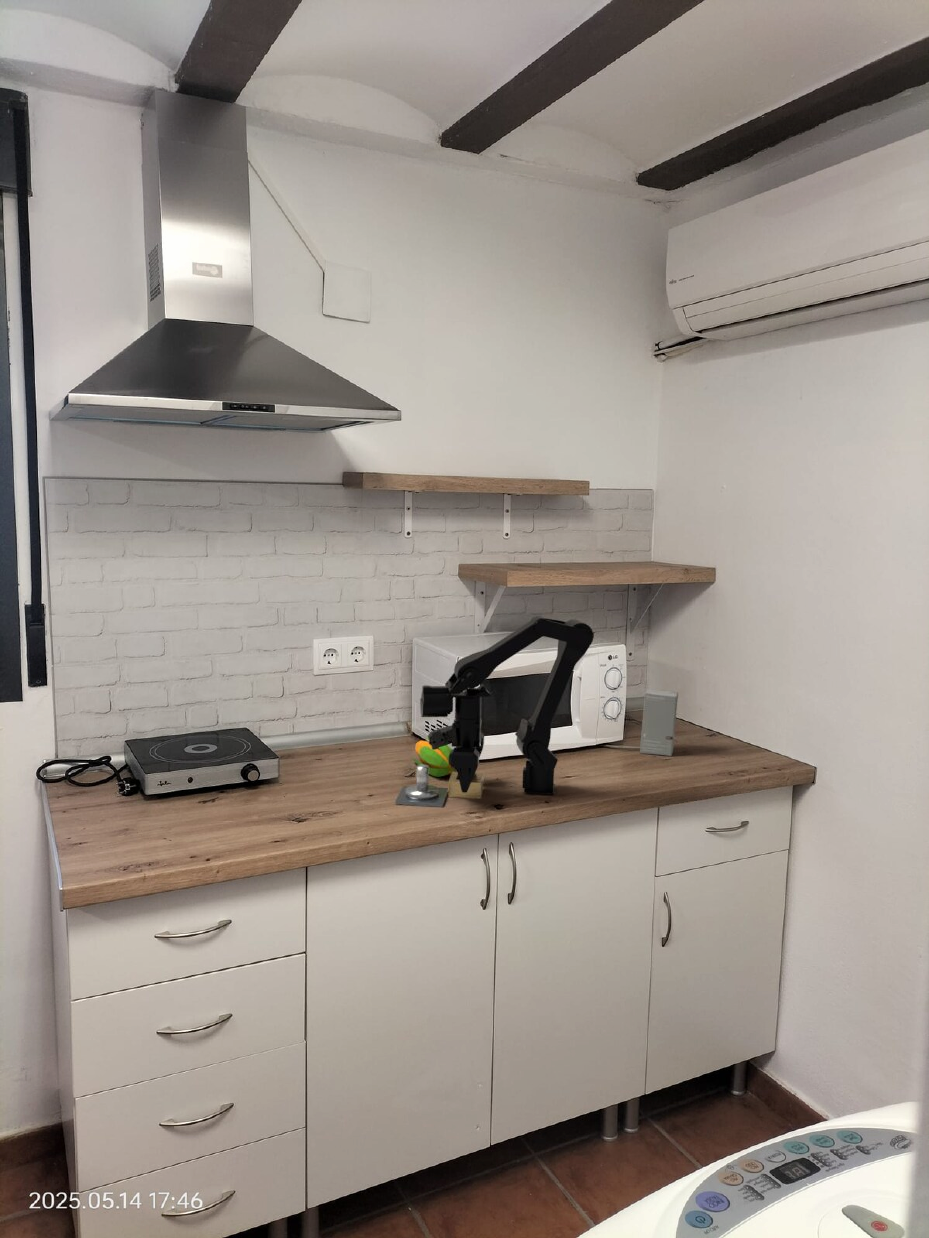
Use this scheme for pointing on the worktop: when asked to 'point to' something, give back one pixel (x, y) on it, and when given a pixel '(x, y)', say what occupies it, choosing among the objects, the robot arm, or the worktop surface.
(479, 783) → the collar
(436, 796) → the post
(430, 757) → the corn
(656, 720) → the skincare box
